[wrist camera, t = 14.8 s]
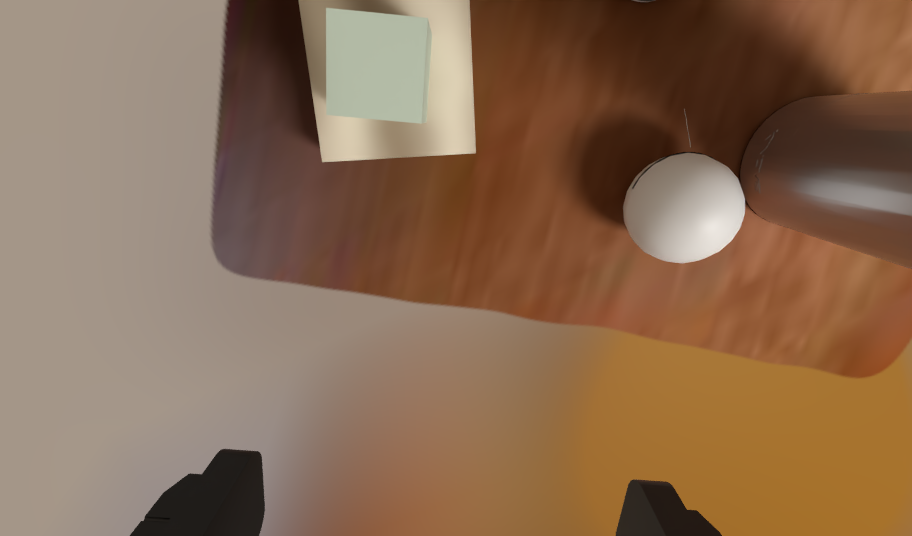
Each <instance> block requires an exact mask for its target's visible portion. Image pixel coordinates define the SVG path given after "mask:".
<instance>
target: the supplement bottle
mask: <svg viewBox="0 0 912 536" xmlns="http://www.w3.org/2000/svg"><path fill="white" fill-rule="evenodd" d="M633 1H637V2H650V1H655V0H633Z"/></svg>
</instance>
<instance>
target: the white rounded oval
mask: <svg viewBox="0 0 912 536" xmlns="http://www.w3.org/2000/svg"><path fill="white" fill-rule="evenodd" d="M684 112H685V109H684ZM685 117H686V113H685ZM686 124H687V118H686ZM687 130H688V126H687ZM688 135H689V132H688ZM689 141H690V137H689ZM690 147H691V144H690ZM623 214H624V223H625V226H626V228H627V230H628V232H629V235H630V236H631V238H632V239H633V241H634V242H635V243H636V244H637V245H638V246H639V247H640V248H641V249H642V250H643V251H644V252H645V253H647V254H649V255H651V256H653V257H656V258H658V259H661V260H664V261H668V262H676V263H687V262H693V261H698V260H701V259H704V258H706V257H708V256H710V255H713V254H715V253H717V252H719V251H720V250H721V249H723V248H724V247H725V246H726V245H727V244H728V243H730V242H731V241H732V239H733V238H734V236H735V235H736V233H737V232H738V230H739V229H740V227H741V224H742V221H743V218H744V215H745V198H744V194H743V191H742V188H741V185H740V183H739V180H738V178H737V177H736V176H735V174H734V173H733V172H732V171H731V170H730V169H729V167H727V166H726V165H724V164H722V163H720V162H718V161H717V160H715V159H713V158H712V157H710V156H707V155H705V154H701V153H695V152H682V153H676V154H673V155H669V156H667V157H663V158H661V159H659V160H657V161H655V162H653V163H651V164H649V165H648V166H647V167H645V168H644V169H643V170H642V171H641V172H640V173H639V174H638V175H637V176H636V177H635V179H634V180H633V182H632V184H631V185H630V187H629V189H628V190H627V193H626V197H625V201H624V205H623Z"/></svg>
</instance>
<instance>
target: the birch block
mask: <svg viewBox="0 0 912 536" xmlns="http://www.w3.org/2000/svg"><path fill="white" fill-rule="evenodd" d="M298 1H299V8H300V14H301V21H302V28H303V35H304V41H305V48H306V55H307V62H308V69H309V75H310V82H311V89H312V96H313V102H314V109H315V116H316V123H317V129H318V136H319V143H320V150H321V157H322V162H333V161H350V160H367V159H384V158H401V157H418V156H435V155H452V154H469V153H476V147H475V123H474V99H473V75H472V51H471V27H470V2H469V0H298ZM326 8H334V9H344V10H354V11H364V12H374V13H384V14H394V15H403V16H413V17H423V18H428V21H429V25H430V29H431V33H432V46H431V61H430V77H429V92H428V108H427V122H426V123H422V124H419V123H409V122H398V121H387V120H376V119H365V118H354V117H343V116H333V115H326Z"/></svg>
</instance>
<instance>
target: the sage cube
mask: <svg viewBox="0 0 912 536" xmlns="http://www.w3.org/2000/svg"><path fill="white" fill-rule="evenodd" d="M431 46H432V33H431V29H430V25H429V21H428V18H423V17H413V16H403V15H394V14H384V13H374V12H364V11H354V10H344V9H334V8H326V115H333V116H343V117H354V118H365V119H376V120H387V121H398V122H409V123H419V124H422V123H426V122H427V108H428V92H429V77H430V61H431Z"/></svg>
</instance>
